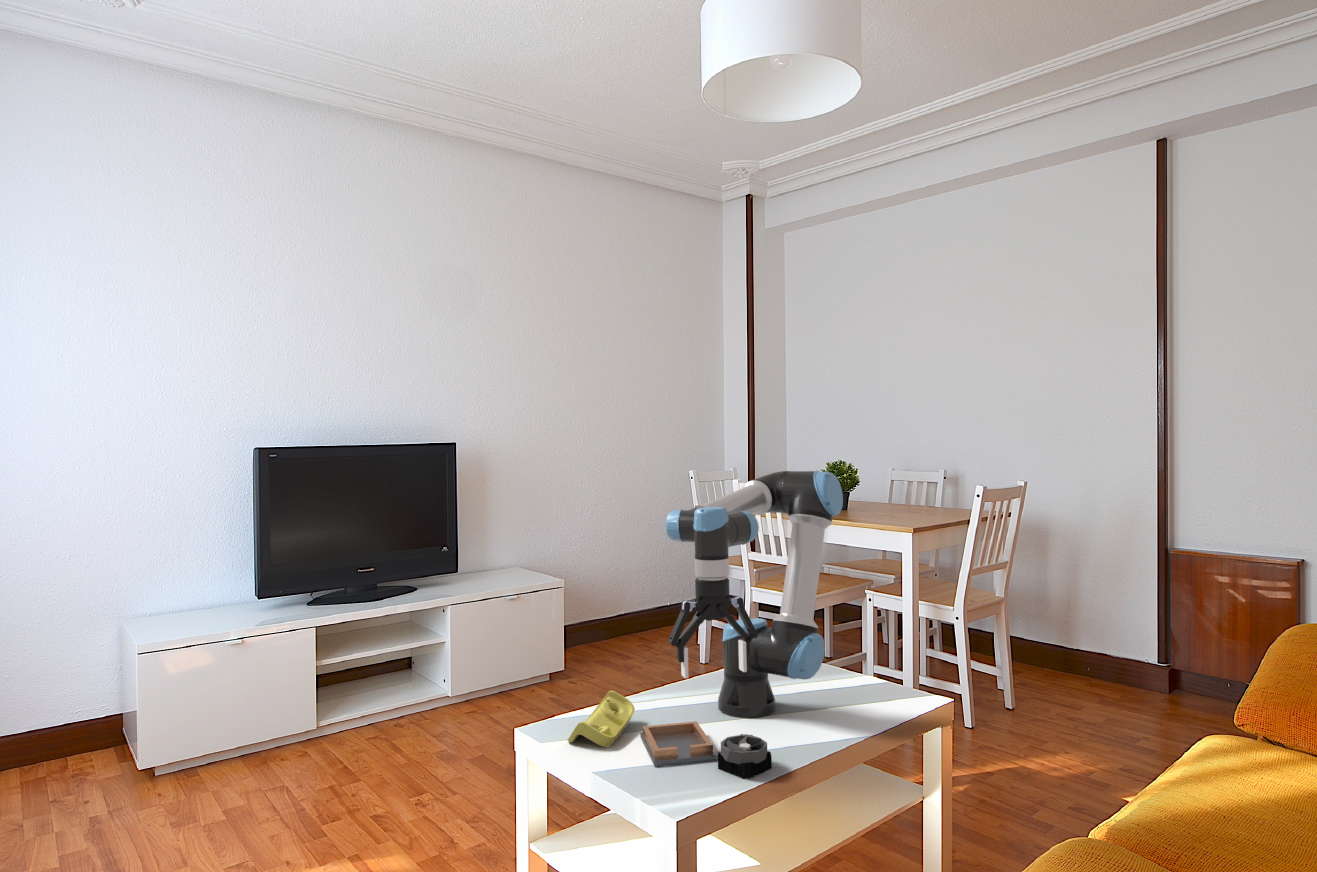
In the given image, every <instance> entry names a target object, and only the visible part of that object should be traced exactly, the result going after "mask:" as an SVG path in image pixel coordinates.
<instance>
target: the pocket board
mask: <svg viewBox="0 0 1317 872" xmlns="http://www.w3.org/2000/svg"><path fill="white" fill-rule="evenodd" d="M639 735H640V739H641V741H642V744H643V746H644V748H645V749H646V751H647V754H648V756H649V758H650V760H651V763H652V764H653V766H654V768H656V767H666V766H676V765H685V764H686V765H687V764H695V763H703V762H712V761H713V762H715V761H717V754H716V753H715V751H714V744H713V742H712V741H711V739H710V738H709V737H708V736H707V734H706V732H705V731H704V730H703V729H702V727H701V725H700V724H699V723H698V721H686V722H675V723H665V724H653V725H643V726H642V731H640V732H639Z"/></svg>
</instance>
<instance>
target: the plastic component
mask: <svg viewBox="0 0 1317 872" xmlns="http://www.w3.org/2000/svg"><path fill="white" fill-rule="evenodd" d="M634 713H635V706H634V704H633V703H632V701H631V700H629V699H628V698H627V697H625V696H624V695H622V694H620V693H618V692H617V691H615V690H609V691H607V692H606V694H605V695H604V697H603V699H602V700H601V701H600V702H599V703H598V705H597V706H596V707H595V709H594V710H593V711H592V712H591V714H590V715H589V716H588V717H587V719H586V720H585V721H580V722H578V724H577V725H576V726H575V728H574V729H573V731H572V732H571V734H570V736H569V737H568V739H567V742H569V743H573V742H575V741H576V740H577V738H579V736H583V737H585V738H586V739H588V740H590V741H592V743H595V744H596V745H598V746H600V747H603V748H609V747H611V746H612V745H613V744H614V743H615V741H617V739H618V738H619V737H620V735H621V734H622V733H623V732H624V730H625V729H626V728H627V725H628V723H629V722H630V720H631V719H632V718H633V715H634Z"/></svg>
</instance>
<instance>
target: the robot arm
mask: <svg viewBox="0 0 1317 872" xmlns="http://www.w3.org/2000/svg"><path fill="white" fill-rule="evenodd" d="M843 504H844V495H843V489H842V485H841V483H840V481H839V478H838V477H837V476H836V475H835V474H834V473H832V472H829V471H819V470H813V471H812V470H807V471H805V470H802V471H801V470H799V471H797V470H796V471H795V470H792V471H791V470H790V471H789V470H781V471H776V472H772V473H769V474H765V475H762V476H760V477H757V478H754V479H752V480H749V481H748V482H746V483H745V484H744V485H743V487H742V488H740V489H737V490H735V491H732V492H730V493H728V494H726V495H723V496H721V497H718V498H716V499H713V500H710V501H707V502H706V503H703V504H701V505H699V506H696V507H692V508H690V509H686V510H685V509H675V510H672V511H670V512H669V513H668V515H667V517H666V520H665V523H664V524H665V533H666V534H667V536H668V538H669V539H671V540H672V541H675V542H681V543H685V542H686V543H694V576H695V577H697V578H695V580H694V583H695V585H694V589H695V593H694V594H695V599H694V601H687V600H685V599H683V600H682V601H681V604H680V605H681V608H680V612H679V613H678V617H677V618H676V621H675V622H674V626H673V628H672V630H671V632H670V634H669V637H668V639H667V641H668V644H669V645H671V646H673V647H676V660H677V662H678V663H681V664H680V669H681V670H680V671H681V673H680V674H681V676H682V677H683V678H684V679H689V648H688V647H687V643H688V642H689V640H691V638H692V637H693V635H694V634H695V632H696V631H697V630H698V628H699V627H700V625H701V624H703V623H704V621H707V622H709V621H713V620H717V621H720V620H722V619H723V618H724V620H725V621H726V622H727V623H725V625H724V626H723V630H722V631H723V633H722V634H723V635H722V645H723V650H722V653H723V682H722V684H721V689H720V692H719V694H718V698H717V704H718V705H717V707H718V710H719V711H720V712H721V713H723V714H724V715H725V714H726V715H729V716H733V717H738V718H757V717H763V716H764V717H765V716H767V715H768V716H769V714H770V715H771V714H772V713H774V712H775V710H776V698H775V695H774V693H773V689H772V687H771V683H770V681H769V675H775V676H780V677H785V678H789V679H793V680H797V679H798V680H811V679H812V678H813V677H814V676H816V674H817V673H818V672H819V670H820V669H821V666H822V664H823V661H824V657H825V651H826V647H825V640H824V638H823V636H822V635H821V634H819V633H818V631H819V626H818V625H817V623H816V622H815V620H814V616H815V610H816V609H815V608H816V601H817V593H818V585H819V578H820V570H821V569H820V568H821V562H822V556H823V545H824V539H825V530H826V529H827V528H828V527H830V526H831V525H832V523H833V517H836V516H838V515H839V514H841V511H842V509H843V506H844V505H843ZM767 513H772V514H773V513H776V514H777V513H779V514H780V513H781V514H787V520H789V521H790V523H791V533H790V538H789V539H790V540H789V545H788V553H787V554H788V555H787V562H786V568H785V575H784V583H783V589H782V597H781V604H780V610H779V611H780V612H779V615H777V616H776V617H775V618H773V619H772V626H771V627H770V626H768V623H767V619H764V618H761V617H760V618H755V617H754V618H750V616H749V614H748V612H747V610H746V609H745V602H744V599H743V597H740V596H738V595H736V596H734V597H733V598H731V597H730V579H729V576H730V562H729V561H730V560H729V557H730V556H729V548H730V547H734V546H741V545H746V544H748V543H751V542H753V541H754V540H755V539H756V538H757V537H758V535H759V530H760V529H759V528H760V527H759V521H758V519H757V518H756V516H761V515H765V514H767ZM755 515H756V516H755ZM732 606H733V607H734V608H735V609H736V611H737V613H738V615H739V617H740V619H735V618H734V617H733V615H732V614H731V613H730V612H729V609H730V608H731V607H732ZM693 608H694V609H695V610H696V613H694V615H693V617H692V619H691V621H690V622H689V624H688V625H687V626H686V627H685V625H686V622H687V620H688V618H689V616H690V613H691V612H692V611H693ZM684 627H685V629H684ZM683 629H684V630H683Z"/></svg>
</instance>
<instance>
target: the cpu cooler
mask: <svg viewBox="0 0 1317 872" xmlns="http://www.w3.org/2000/svg"><path fill="white" fill-rule="evenodd" d="M772 760H773V759H772V753H771V751H769V750H768V742H767V741H765V739H762V738H761V737H758V736H755V735H754V734H747V733H746V734H744V733H743V734H742V733H740V734H737V735H733V736H727V737H726V738H724V739H723V740H722V741H720V751H718V752H717V770H721V771H723V772H725V773H728V774H730V775H733V776H736V777H738V778H741V779H743V780H745V779H746V778H747V779H749V780H750V779H752V778H754V777H757V776H759V775H760V774H762V773H763V774H764V773H765V772H767V771H770V770H771V769H772V768H773V762H772Z"/></svg>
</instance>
